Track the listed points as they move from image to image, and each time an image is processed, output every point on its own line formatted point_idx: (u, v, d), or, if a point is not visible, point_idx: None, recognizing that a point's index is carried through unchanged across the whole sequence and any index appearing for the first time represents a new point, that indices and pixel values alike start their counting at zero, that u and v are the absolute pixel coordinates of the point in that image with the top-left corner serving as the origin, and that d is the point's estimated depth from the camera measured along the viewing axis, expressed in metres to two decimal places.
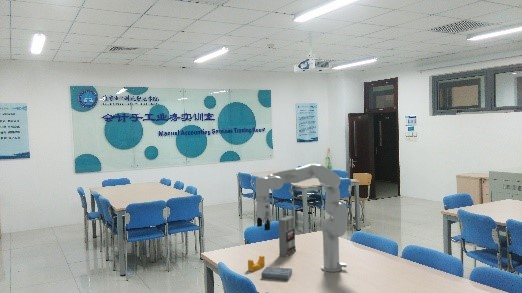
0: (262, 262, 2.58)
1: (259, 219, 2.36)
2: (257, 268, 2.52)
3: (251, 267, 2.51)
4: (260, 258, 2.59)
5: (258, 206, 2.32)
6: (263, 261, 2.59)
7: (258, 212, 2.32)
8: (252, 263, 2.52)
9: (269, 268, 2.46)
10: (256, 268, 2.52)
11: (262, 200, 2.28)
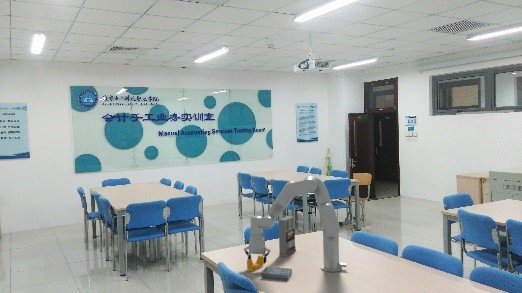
0: (261, 262, 2.59)
1: (250, 255, 2.56)
2: (256, 268, 2.53)
3: (250, 267, 2.51)
4: (259, 258, 2.60)
5: (253, 243, 2.53)
6: (262, 261, 2.60)
7: (254, 249, 2.53)
8: (251, 263, 2.52)
9: (269, 268, 2.46)
10: (255, 268, 2.53)
11: (260, 237, 2.52)
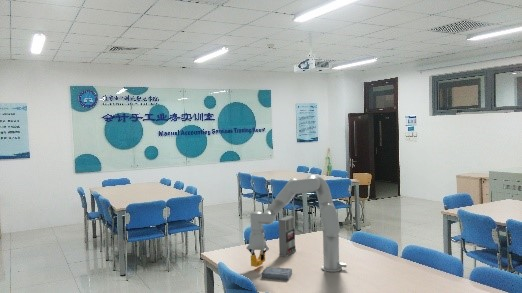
0: None
1: (253, 253, 2.55)
2: (260, 263, 2.53)
3: (254, 262, 2.50)
4: None
5: (254, 239, 2.52)
6: (264, 256, 2.59)
7: (254, 244, 2.53)
8: (255, 258, 2.51)
9: (269, 268, 2.46)
10: (259, 263, 2.52)
11: (261, 233, 2.52)
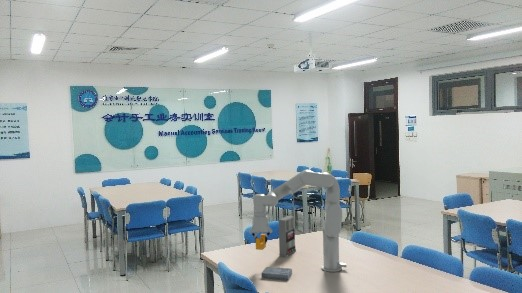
0: (264, 240, 2.56)
1: (256, 236, 2.51)
2: (264, 246, 2.50)
3: (260, 245, 2.46)
4: (262, 236, 2.56)
5: (258, 222, 2.49)
6: None
7: (258, 227, 2.49)
8: (260, 241, 2.48)
9: (269, 268, 2.46)
10: (264, 246, 2.49)
11: (265, 215, 2.49)
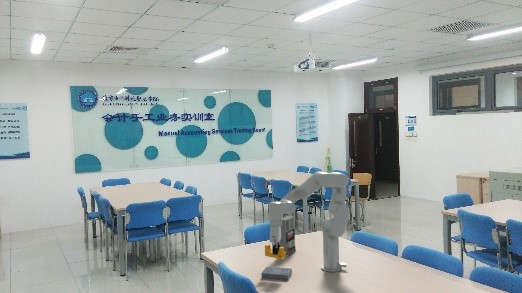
0: None
1: None
2: None
3: (284, 253, 2.39)
4: (269, 247, 2.43)
5: (279, 230, 2.38)
6: None
7: (279, 236, 2.39)
8: None
9: (269, 268, 2.46)
10: None
11: None
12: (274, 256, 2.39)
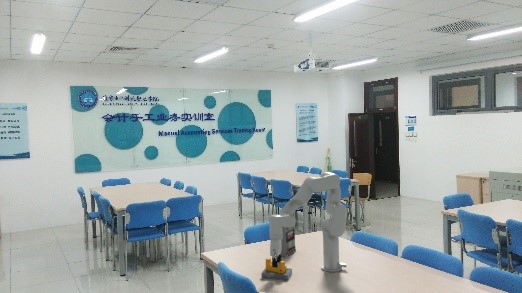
0: None
1: None
2: None
3: (285, 267, 2.39)
4: (269, 261, 2.43)
5: (279, 243, 2.39)
6: None
7: (279, 249, 2.39)
8: None
9: None
10: None
11: None
12: (275, 270, 2.40)
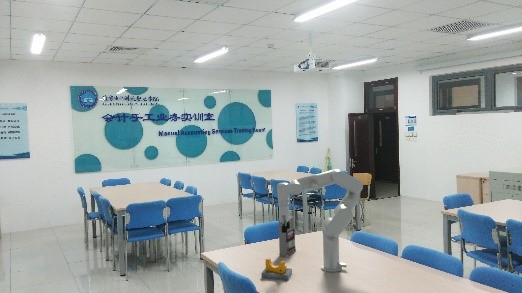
0: None
1: None
2: None
3: (285, 267, 2.39)
4: (269, 261, 2.43)
5: (288, 210, 2.47)
6: None
7: (288, 216, 2.47)
8: None
9: None
10: None
11: None
12: (275, 270, 2.40)
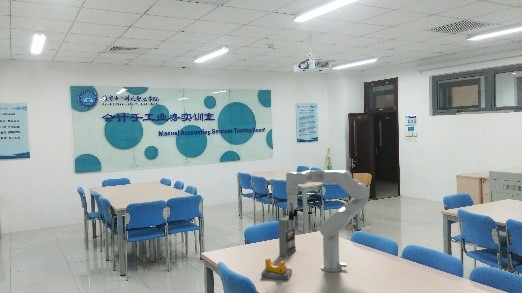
0: None
1: None
2: None
3: (285, 267, 2.39)
4: (269, 261, 2.43)
5: (295, 198, 2.56)
6: None
7: (295, 204, 2.56)
8: None
9: None
10: None
11: None
12: (275, 270, 2.40)
